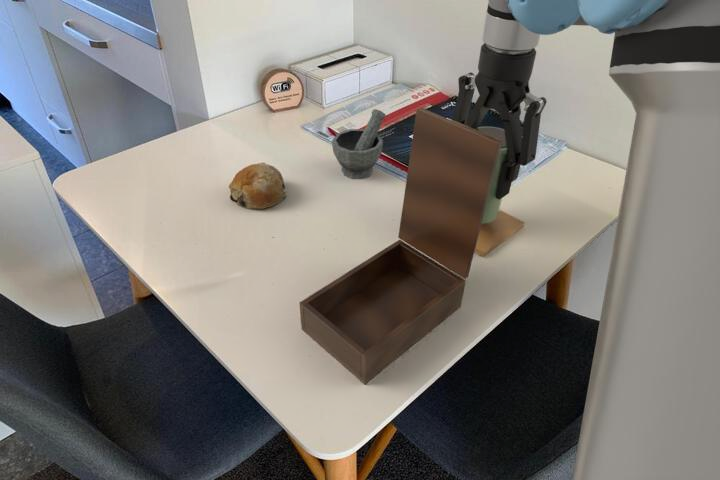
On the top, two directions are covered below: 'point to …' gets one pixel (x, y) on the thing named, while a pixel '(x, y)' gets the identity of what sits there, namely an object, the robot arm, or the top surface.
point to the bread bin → (381, 308)
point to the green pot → (493, 202)
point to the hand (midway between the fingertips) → (482, 185)
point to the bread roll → (257, 187)
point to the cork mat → (496, 232)
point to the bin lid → (447, 189)
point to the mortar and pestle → (359, 148)
